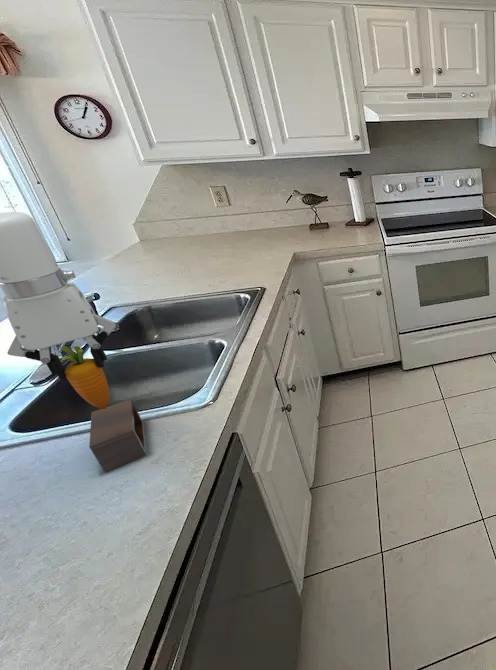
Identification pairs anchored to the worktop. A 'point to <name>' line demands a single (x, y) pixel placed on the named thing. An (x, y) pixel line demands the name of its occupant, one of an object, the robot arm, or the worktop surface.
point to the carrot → (87, 378)
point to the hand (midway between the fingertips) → (82, 369)
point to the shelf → (117, 435)
